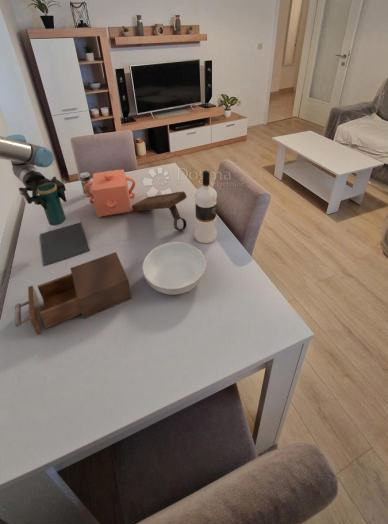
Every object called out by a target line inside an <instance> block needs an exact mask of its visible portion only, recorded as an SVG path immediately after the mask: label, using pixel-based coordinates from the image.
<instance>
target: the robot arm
mask: <svg viewBox="0 0 388 524" xmlns="http://www.w3.org/2000/svg"><path fill="white" fill-rule="evenodd" d="M0 159H1V160H5V161H10V163H11V166H12V168H11V170H12V173H13V174H14V176H16V178H17V179H18V180H19V181H20V182H21V183H22V184H23V185H24V186H25V187H18V191H19V193H20V195H21V196H23V197H24V200H26V202H27V204H29V205H30V204H33V203H34V205H37V206H41V207H42V208H43V210H44V209H47V206H46V203H45V202H44V200H43V199H42V198H41V197H40V196H39V193H38V191H37V187H38V186H40V185H42V184H45V183H55V184H56V186H57V191H58V194H59V197H60V200H62V201H63V202H67V198H66V193H65V192H66V191H67V188H66V185H65V184H64V183H63V182H62V181H60V180H58V179H57V177H56V176H52V178H51V179H49V178H47V177H45V175H43V173H41V172H40V171H39V170H38V169H37V168H36V167H38V168H48V167H50V166H51V165H52V164H53V162H54V160H55V155H54V152H53V151H52V150H51V149H50V148H47V147H45V146H41V145H37V144H34V143H33V144H32V143H30V142H27V139H26V137H25V136H24V135H23V134H19V133H18V134H17V133H16V134H11V135H8V136H6V137H5V136H1V135H0ZM35 166H36V167H35ZM28 192H32V193H31V196H30V194H29V193H28Z"/></svg>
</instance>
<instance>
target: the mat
mask: <svg viewBox="0 0 388 524" xmlns="http://www.w3.org/2000/svg"><path fill="white" fill-rule="evenodd" d="M84 231H85V230H84V228H83V226H82V222H81V221H80V222H76V223H73V224H69V225H66V226H62V227H59V228H55V229H52V230H48V231H46V232H42V233H40V234H39V235H40V244H41V250H42V251H41V252H42V261H43V262H42V263H43V266H44V267H46V266H49V265H52V264H55V263H58V262H61V261H65V260H68V259H70V258H73V257H76V256H78V255H81V254H85V253H87V252H90V246H89V244H88V241H87V238H86V234H85V232H84ZM57 261H58V262H57ZM54 262H55V263H54ZM51 263H52V264H51ZM48 264H49V265H48ZM45 265H46V266H45Z"/></svg>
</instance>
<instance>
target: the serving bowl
mask: <svg viewBox="0 0 388 524" xmlns="http://www.w3.org/2000/svg"><path fill="white" fill-rule="evenodd" d="M206 267H207V262H206V258H205V255H204V253H203V252H202V251H201V250H200V249H199V248H198V247H196V246H195V245H193V244H190V243H188V242H181V241H173V242H167V243H162V244H160V245H158V246H156V247H155V248H153V249H152V250H150V251H149V252H148V254H147V255H146V256H145V257H144V260H143V262H142V273H143V276H144V279H145V280H146V282H147V284H148V285H149V286H150V287H151V288H152V289H153V290H155V291H156V292H159V293H161V294H165V295H175V296H176V295H181V294H184V293H187V292H189V291H191V290H193V289H194V288H195V287H196V286H197V285H199V283H200V282H201V281H202V279H203V278H204V275H205V272H206Z"/></svg>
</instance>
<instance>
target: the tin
mask: <svg viewBox="0 0 388 524" xmlns="http://www.w3.org/2000/svg"><path fill="white" fill-rule="evenodd" d="M37 191H38V195H39V196H40V197H41V198H42V199H43V200H44V202H45V203H46V206H47V209H44V208H43V211H44V215H45V216H46V220H47V222H48V225H49V226H53V227H54V226H60V225H61V224H63V223H65V222H66V220H67V218H66V213H65V211H64V208H63V205H62V201H61V198H60V197H59V194H58V191H57V186H56V184H55V183H45V184H42V185H40V186H38V187H37Z"/></svg>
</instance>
